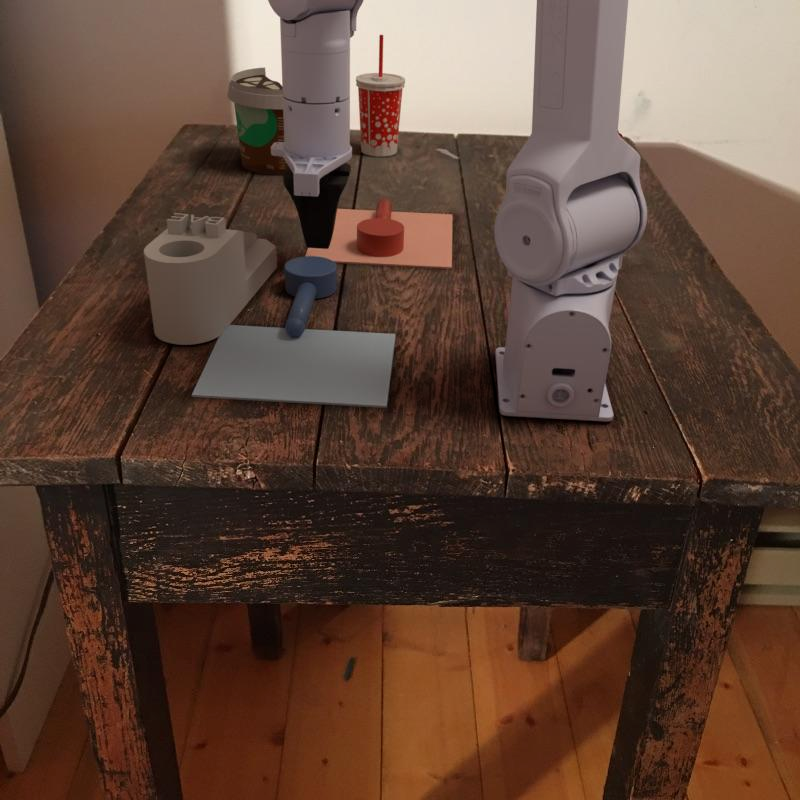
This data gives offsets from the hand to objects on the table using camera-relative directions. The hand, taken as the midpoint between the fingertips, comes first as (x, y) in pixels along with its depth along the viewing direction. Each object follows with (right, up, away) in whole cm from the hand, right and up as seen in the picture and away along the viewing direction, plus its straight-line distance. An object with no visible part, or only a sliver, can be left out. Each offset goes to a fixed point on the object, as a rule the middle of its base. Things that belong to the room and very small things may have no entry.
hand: (318, 245), depth 85 cm
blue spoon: (-1, -6, -7) cm, 9 cm away
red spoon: (+6, +3, +8) cm, 10 cm away
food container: (-10, +14, +26) cm, 31 cm away
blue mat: (0, -12, -15) cm, 19 cm away
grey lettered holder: (-8, -6, -6) cm, 11 cm away
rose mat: (+6, +2, +7) cm, 10 cm away
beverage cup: (+5, +17, +32) cm, 37 cm away
